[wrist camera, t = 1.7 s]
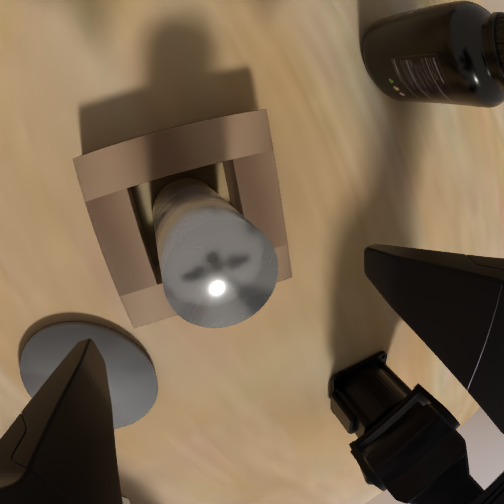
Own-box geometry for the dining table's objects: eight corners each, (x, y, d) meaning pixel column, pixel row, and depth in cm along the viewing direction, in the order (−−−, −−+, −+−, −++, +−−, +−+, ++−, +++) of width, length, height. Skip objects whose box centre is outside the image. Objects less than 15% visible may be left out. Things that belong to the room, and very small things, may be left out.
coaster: (123, 302, 19) (123, 307, 19) (176, 408, 24) (177, 413, 23) (-4, 340, 17) (-6, 345, 16) (66, 432, 22) (66, 437, 21)
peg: (211, 170, 18) (269, 205, 10) (225, 233, 20) (284, 306, 12) (144, 189, 17) (147, 240, 9) (162, 252, 19) (182, 341, 11)
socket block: (250, 111, 18) (266, 109, 15) (276, 261, 22) (292, 277, 20) (81, 155, 15) (72, 158, 13) (133, 306, 20) (133, 328, 17)
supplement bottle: (381, 3, 17) (513, -26, 6) (431, 63, 20) (556, 66, 10) (343, 58, 18) (498, 38, 7) (402, 120, 21) (542, 142, 11)
